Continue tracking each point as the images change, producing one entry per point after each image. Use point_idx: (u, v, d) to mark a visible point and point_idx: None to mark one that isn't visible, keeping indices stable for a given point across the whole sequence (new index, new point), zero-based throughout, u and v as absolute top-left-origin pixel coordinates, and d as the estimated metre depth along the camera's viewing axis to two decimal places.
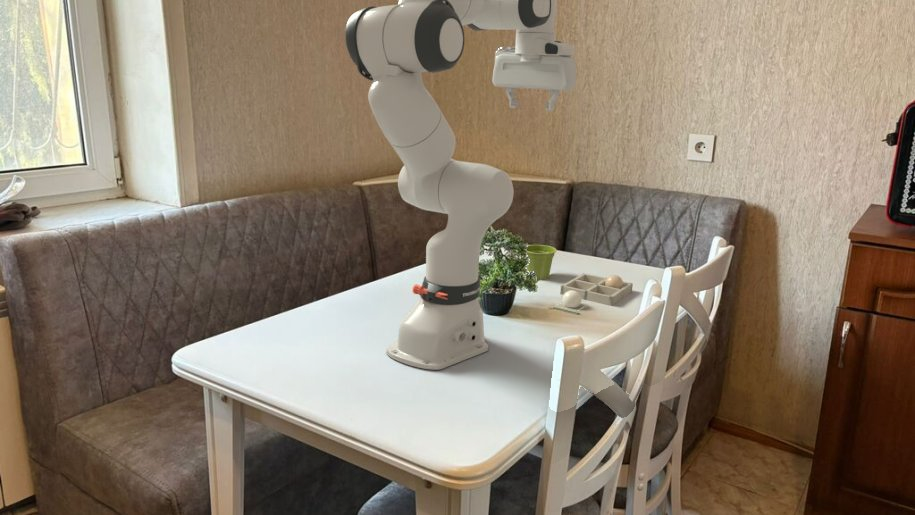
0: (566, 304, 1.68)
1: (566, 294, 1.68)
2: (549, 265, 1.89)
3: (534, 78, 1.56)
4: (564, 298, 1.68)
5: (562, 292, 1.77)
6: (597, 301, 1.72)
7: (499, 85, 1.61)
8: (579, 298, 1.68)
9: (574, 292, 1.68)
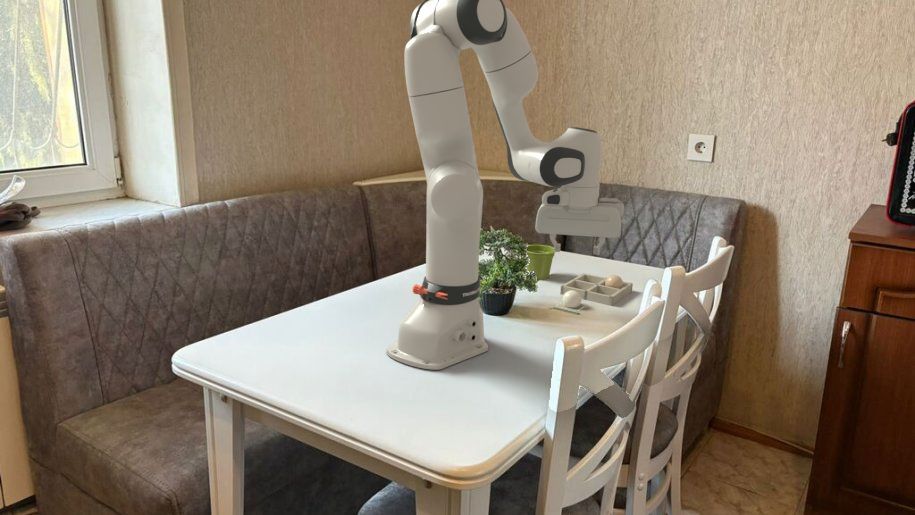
0: (566, 304, 1.68)
1: (566, 294, 1.68)
2: (549, 265, 1.89)
3: None
4: (564, 298, 1.68)
5: (562, 292, 1.77)
6: (597, 301, 1.72)
7: None
8: (579, 298, 1.68)
9: (574, 292, 1.68)
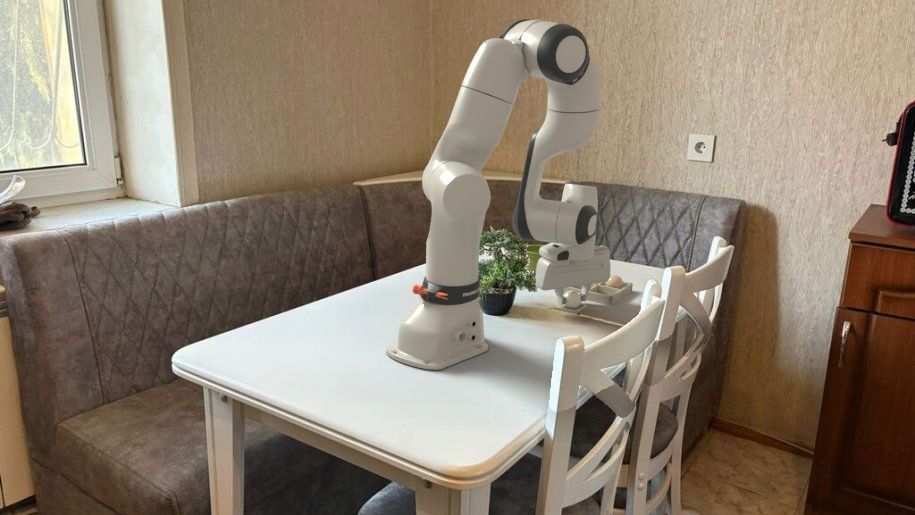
0: (566, 304, 1.68)
1: (566, 294, 1.68)
2: None
3: None
4: None
5: (562, 292, 1.77)
6: (597, 301, 1.72)
7: None
8: (579, 298, 1.68)
9: (574, 292, 1.68)
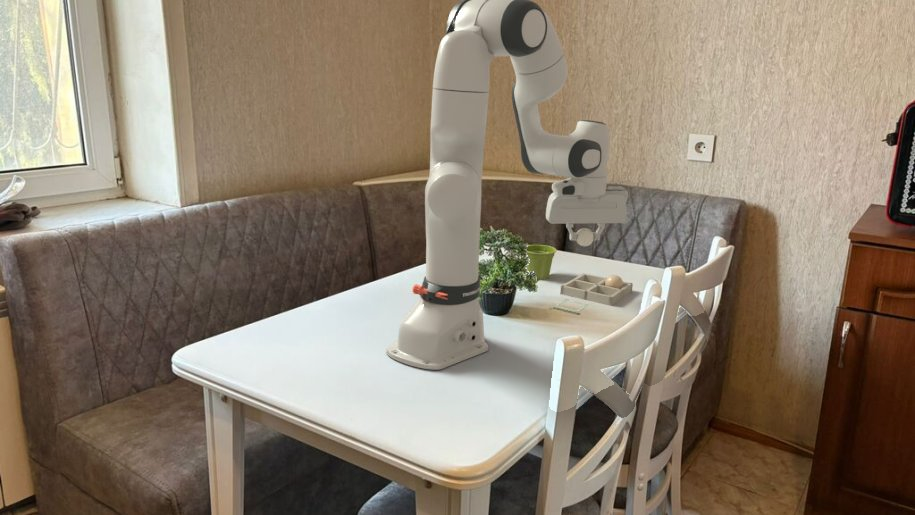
0: (577, 240, 1.74)
1: (578, 231, 1.74)
2: (549, 265, 1.89)
3: None
4: None
5: (562, 292, 1.77)
6: (597, 301, 1.72)
7: None
8: (590, 235, 1.73)
9: (586, 229, 1.73)
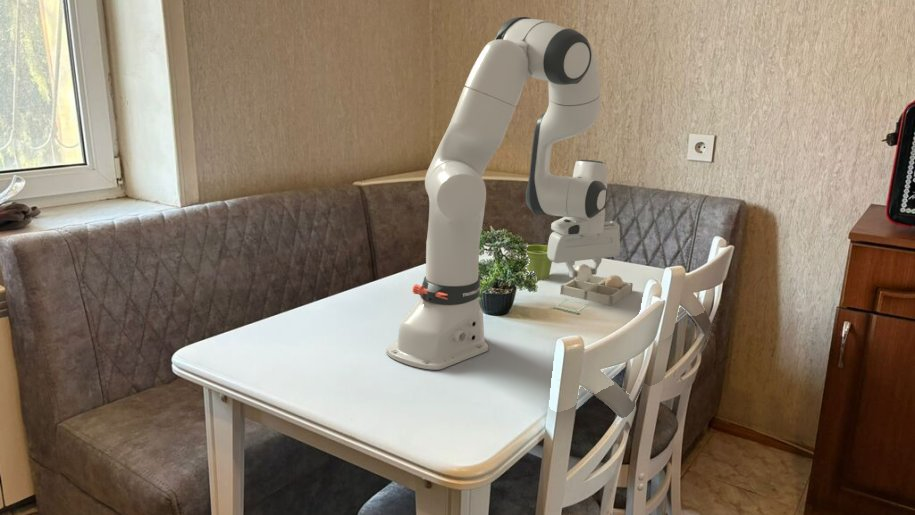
0: (577, 277, 1.76)
1: (577, 267, 1.76)
2: (549, 265, 1.89)
3: None
4: None
5: (562, 292, 1.77)
6: (597, 301, 1.72)
7: None
8: (590, 271, 1.75)
9: (585, 265, 1.76)
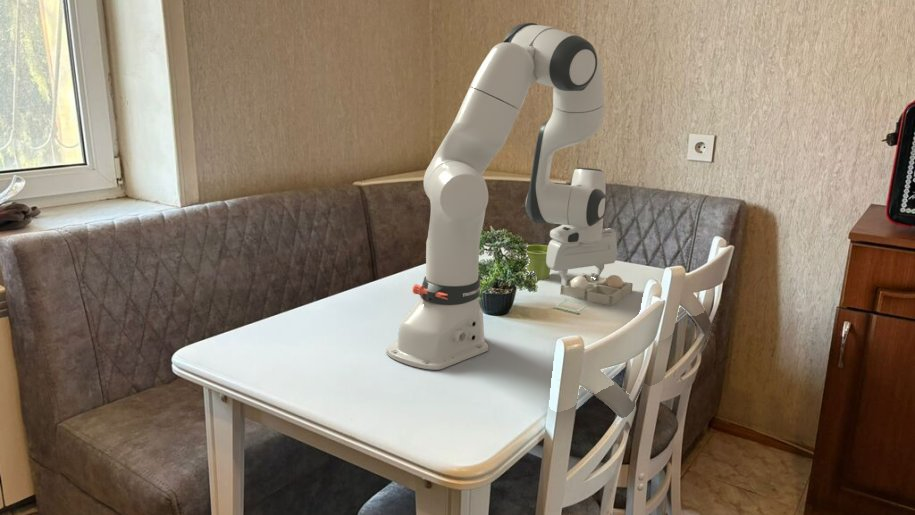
0: None
1: (574, 280, 1.77)
2: None
3: None
4: (572, 284, 1.77)
5: (562, 292, 1.77)
6: (597, 301, 1.72)
7: None
8: (586, 283, 1.76)
9: (581, 278, 1.77)
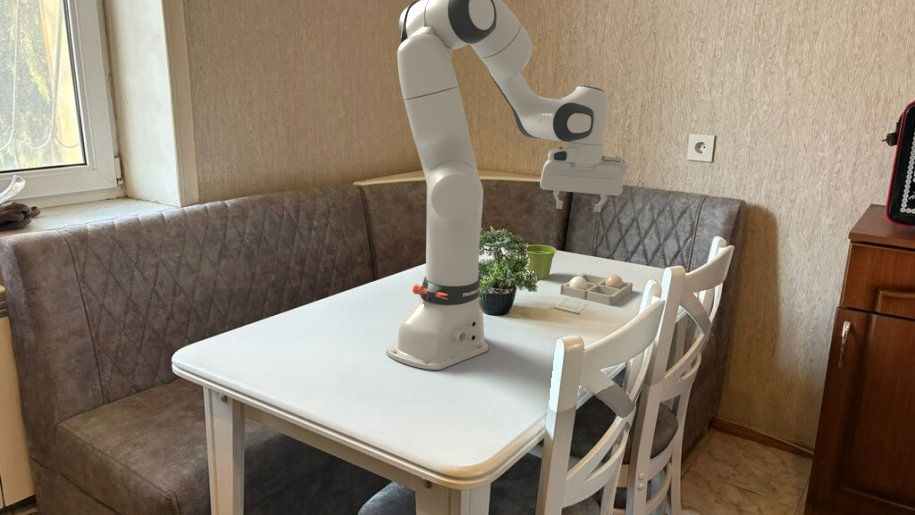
0: None
1: (571, 282, 1.77)
2: (549, 265, 1.89)
3: None
4: (570, 286, 1.77)
5: (562, 292, 1.77)
6: (597, 301, 1.72)
7: None
8: (584, 283, 1.76)
9: (578, 278, 1.76)
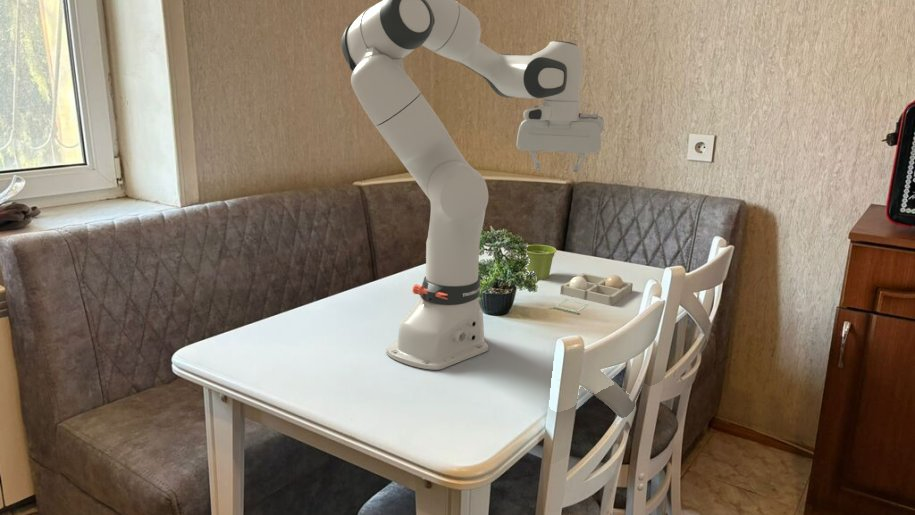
0: None
1: (571, 282, 1.77)
2: (549, 265, 1.89)
3: None
4: (570, 286, 1.77)
5: (562, 292, 1.77)
6: (597, 301, 1.72)
7: None
8: (584, 283, 1.76)
9: (578, 278, 1.76)
